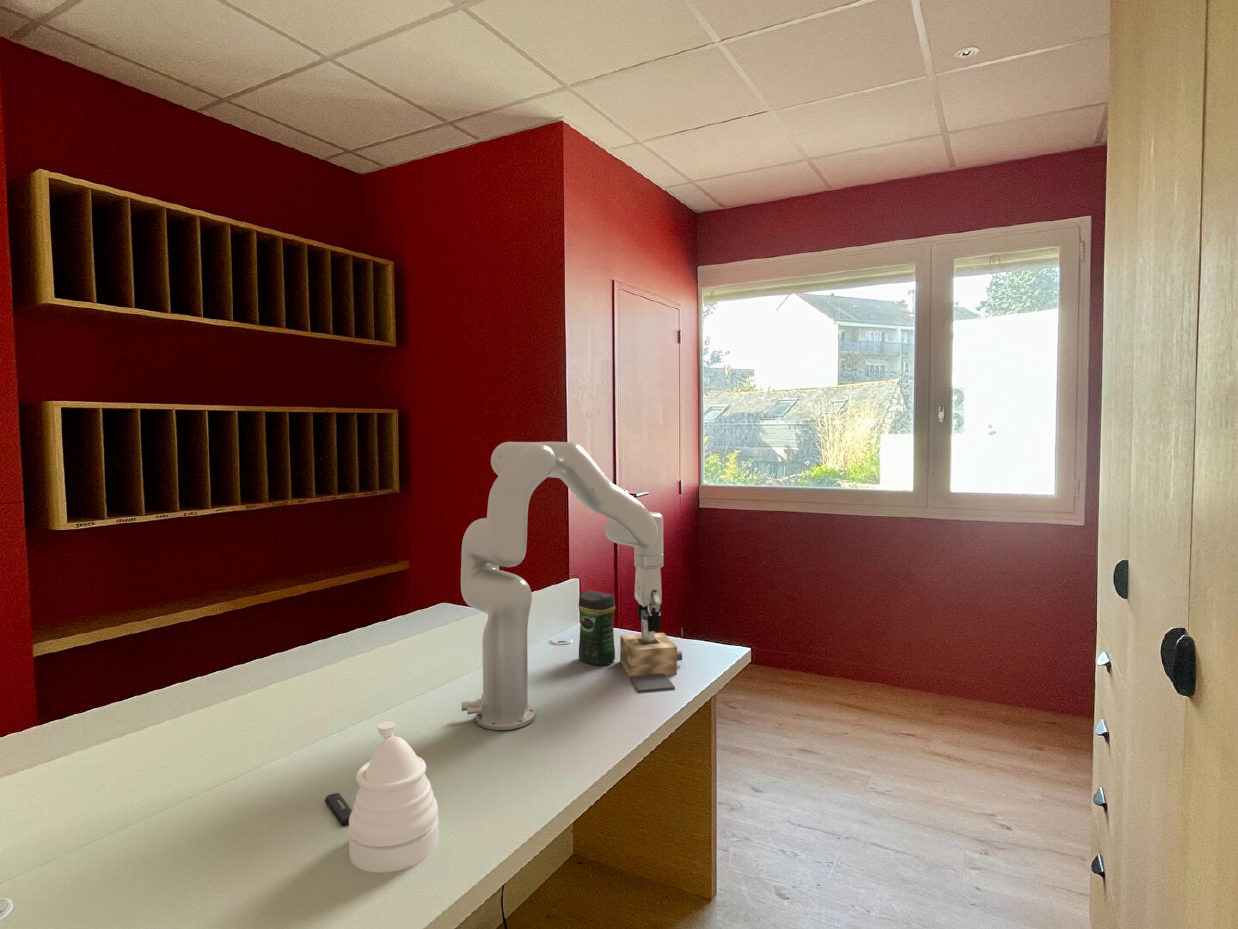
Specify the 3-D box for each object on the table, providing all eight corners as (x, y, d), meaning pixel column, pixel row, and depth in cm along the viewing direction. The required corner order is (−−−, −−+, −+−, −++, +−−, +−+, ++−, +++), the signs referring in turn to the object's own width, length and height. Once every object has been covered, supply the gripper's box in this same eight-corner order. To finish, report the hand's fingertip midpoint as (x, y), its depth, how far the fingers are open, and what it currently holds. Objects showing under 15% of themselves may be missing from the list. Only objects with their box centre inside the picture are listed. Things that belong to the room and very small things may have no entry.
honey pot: (335, 844, 104) (332, 728, 103) (413, 810, 113) (411, 704, 112) (372, 885, 95) (370, 759, 94) (454, 845, 104) (453, 729, 102)
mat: (638, 692, 162) (638, 690, 162) (629, 678, 171) (629, 676, 171) (674, 689, 164) (674, 687, 164) (664, 675, 173) (664, 673, 173)
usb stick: (358, 824, 110) (358, 815, 110) (341, 830, 108) (341, 821, 108) (339, 798, 117) (339, 790, 117) (323, 804, 115) (323, 795, 115)
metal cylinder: (643, 658, 176) (643, 613, 176) (639, 654, 180) (640, 609, 179) (656, 657, 177) (656, 612, 176) (652, 653, 180) (652, 608, 180)
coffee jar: (620, 661, 184) (620, 592, 182) (599, 668, 178) (600, 598, 176) (593, 652, 190) (594, 586, 189) (573, 660, 184) (573, 591, 183)
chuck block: (630, 677, 171) (631, 650, 171) (620, 661, 183) (620, 635, 183) (688, 673, 175) (688, 646, 174) (674, 657, 186) (674, 632, 186)
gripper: (626, 554, 184) (627, 616, 186) (643, 568, 168) (643, 636, 169) (653, 552, 186) (654, 614, 187) (672, 566, 169) (672, 634, 171)
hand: (649, 625), depth 178 cm, fingers open, 9 cm apart
